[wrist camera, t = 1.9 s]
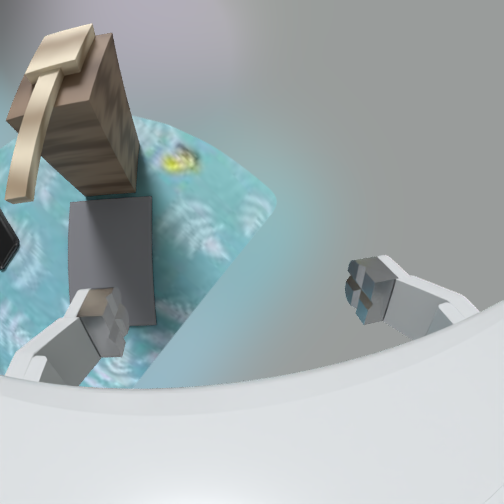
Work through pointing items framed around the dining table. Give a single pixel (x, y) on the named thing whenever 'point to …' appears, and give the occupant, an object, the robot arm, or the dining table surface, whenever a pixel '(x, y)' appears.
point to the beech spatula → (44, 104)
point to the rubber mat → (114, 252)
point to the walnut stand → (89, 125)
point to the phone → (6, 241)
